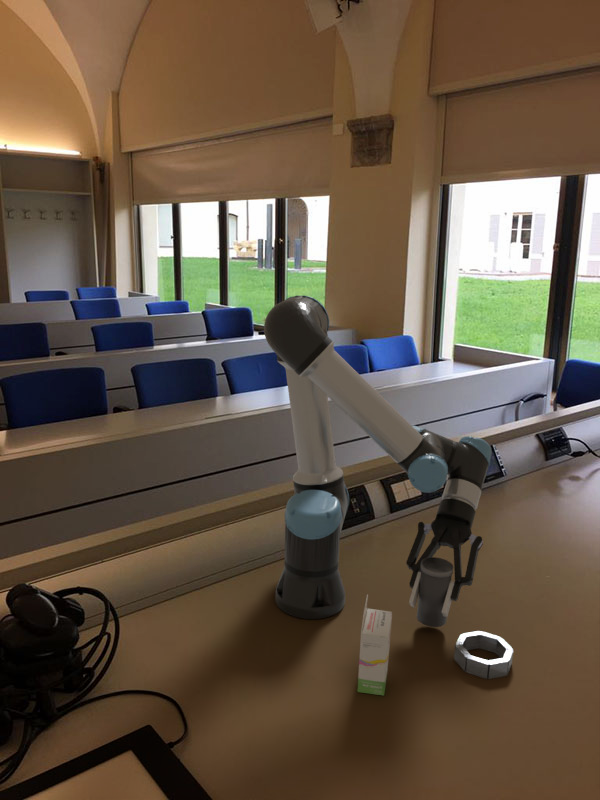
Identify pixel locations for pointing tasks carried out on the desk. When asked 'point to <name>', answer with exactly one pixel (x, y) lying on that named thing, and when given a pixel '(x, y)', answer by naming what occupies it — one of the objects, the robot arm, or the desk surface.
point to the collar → (481, 665)
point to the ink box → (374, 651)
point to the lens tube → (433, 590)
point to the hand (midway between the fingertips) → (427, 609)
